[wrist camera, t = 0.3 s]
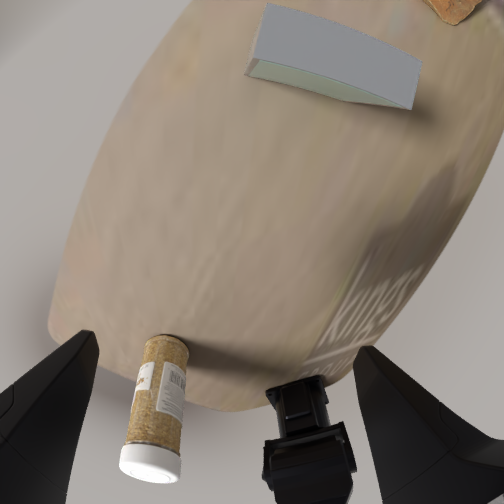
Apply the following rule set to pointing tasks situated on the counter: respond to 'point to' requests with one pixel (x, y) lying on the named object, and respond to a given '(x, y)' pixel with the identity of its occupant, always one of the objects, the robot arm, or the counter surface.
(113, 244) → the counter surface
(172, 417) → the sprinkles bottle
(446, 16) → the pottery shard
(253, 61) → the tile
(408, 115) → the counter surface
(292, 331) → the counter surface
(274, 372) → the counter surface
